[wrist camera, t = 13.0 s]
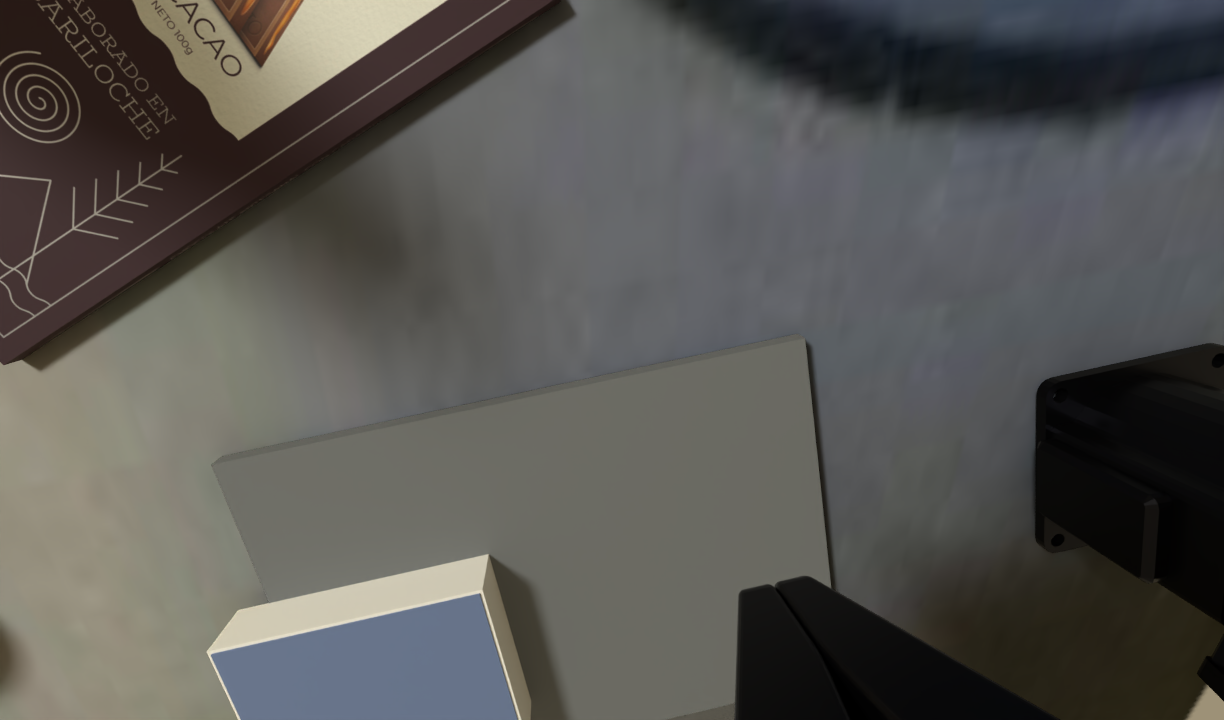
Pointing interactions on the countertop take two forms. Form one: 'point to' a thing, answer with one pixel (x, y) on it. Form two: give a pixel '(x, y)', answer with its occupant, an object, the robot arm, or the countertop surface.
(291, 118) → the chocolate bar
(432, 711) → the card box
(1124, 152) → the countertop surface
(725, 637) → the mat
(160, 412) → the countertop surface
